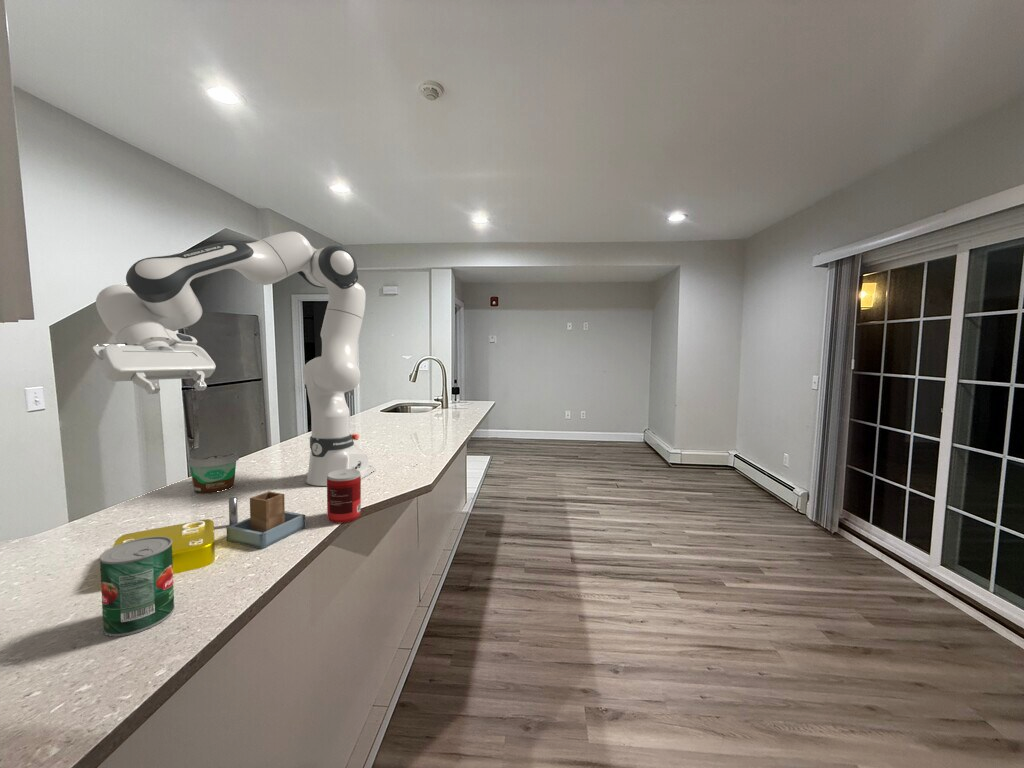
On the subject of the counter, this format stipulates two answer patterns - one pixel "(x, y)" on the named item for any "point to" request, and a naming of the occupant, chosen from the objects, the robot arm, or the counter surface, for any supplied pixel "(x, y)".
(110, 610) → the canned tomato
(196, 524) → the element tile
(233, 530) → the slate tray
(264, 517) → the walnut tube
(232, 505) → the metal post
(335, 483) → the canned food
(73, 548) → the counter surface
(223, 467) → the food container
